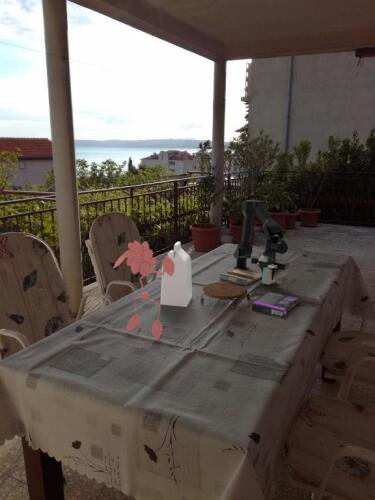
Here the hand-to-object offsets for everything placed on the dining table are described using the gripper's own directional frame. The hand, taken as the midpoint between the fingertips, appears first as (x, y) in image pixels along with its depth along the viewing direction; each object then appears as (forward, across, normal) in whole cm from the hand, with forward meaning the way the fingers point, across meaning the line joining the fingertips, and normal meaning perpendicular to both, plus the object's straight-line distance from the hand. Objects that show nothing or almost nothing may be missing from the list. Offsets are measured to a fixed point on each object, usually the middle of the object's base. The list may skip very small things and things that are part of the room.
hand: (268, 279), depth 199 cm
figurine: (+2, -5, -85) cm, 85 cm away
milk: (+3, -19, -49) cm, 53 cm away
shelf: (+2, -15, 0) cm, 15 cm away
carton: (+2, 0, 0) cm, 2 cm away
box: (+3, +17, -25) cm, 30 cm away
